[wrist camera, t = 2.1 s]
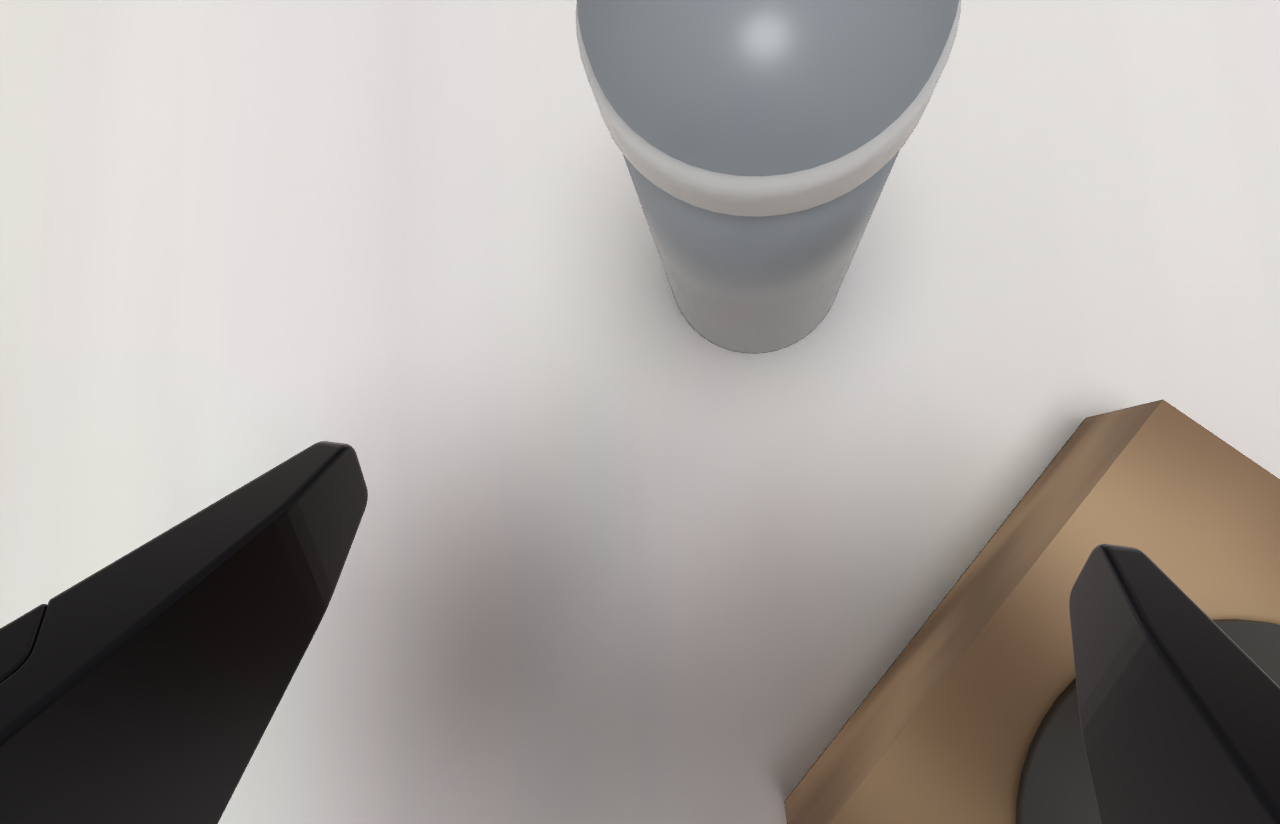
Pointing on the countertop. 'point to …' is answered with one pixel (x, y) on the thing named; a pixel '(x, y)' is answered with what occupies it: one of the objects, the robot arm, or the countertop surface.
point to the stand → (1051, 630)
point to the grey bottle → (761, 140)
